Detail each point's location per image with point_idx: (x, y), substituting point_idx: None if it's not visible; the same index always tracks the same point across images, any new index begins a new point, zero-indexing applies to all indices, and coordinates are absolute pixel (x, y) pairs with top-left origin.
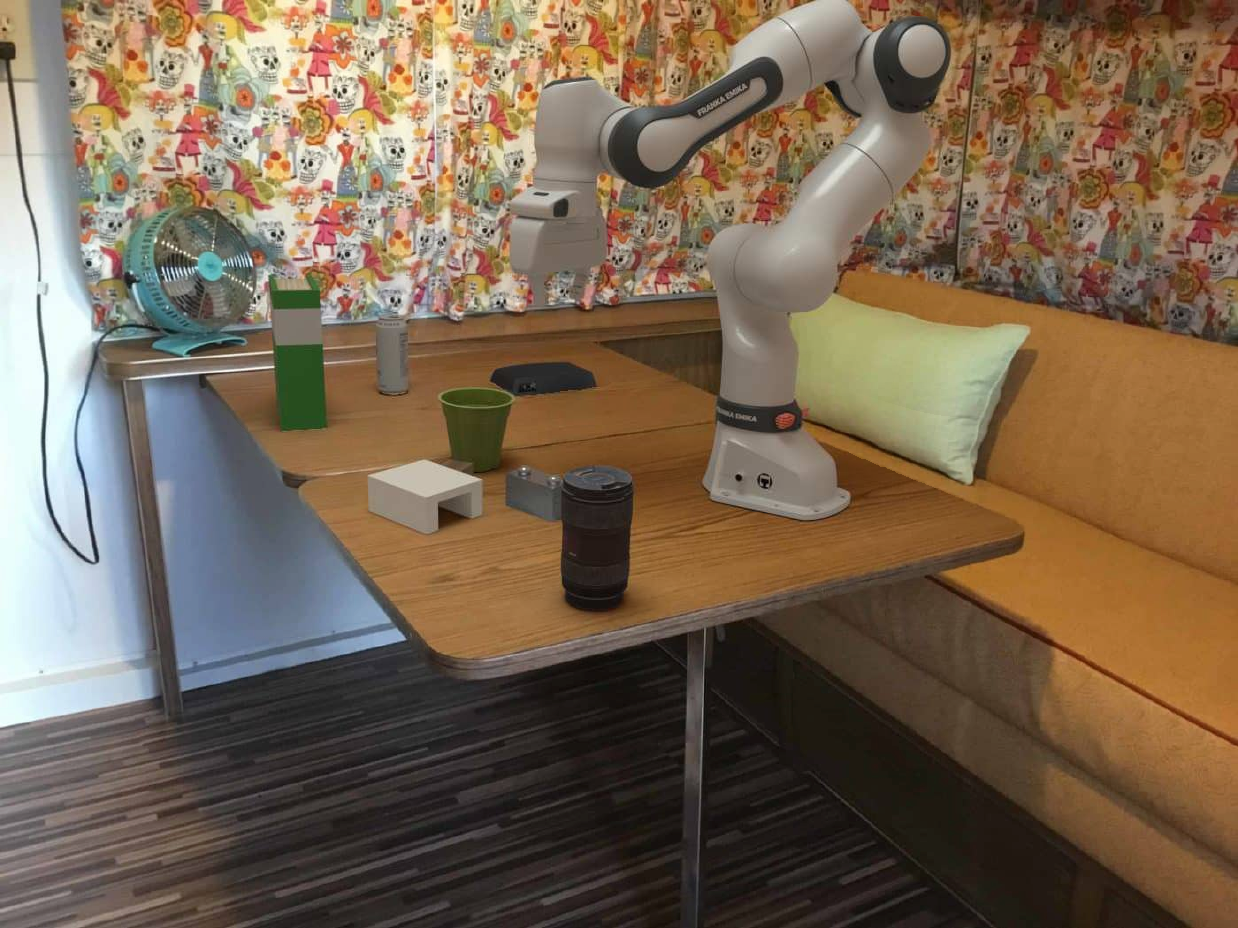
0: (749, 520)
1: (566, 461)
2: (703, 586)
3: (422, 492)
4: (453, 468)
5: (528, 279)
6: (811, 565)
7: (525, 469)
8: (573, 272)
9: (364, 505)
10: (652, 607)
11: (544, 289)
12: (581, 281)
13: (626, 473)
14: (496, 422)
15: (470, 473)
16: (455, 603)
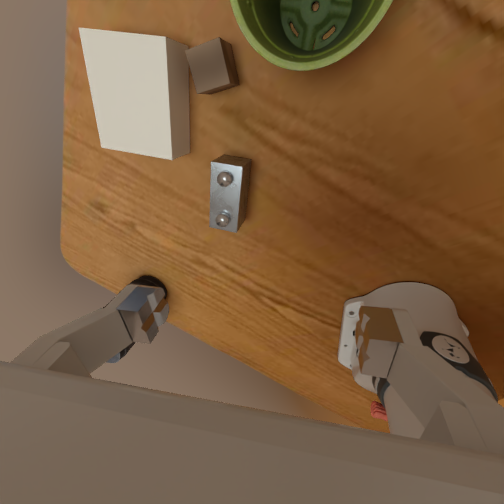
0: (318, 329)
1: (403, 117)
2: (204, 327)
3: (105, 133)
4: (198, 76)
5: (35, 342)
6: (268, 364)
7: (219, 184)
8: (438, 407)
9: (116, 14)
10: None
11: (109, 355)
12: (411, 393)
13: (118, 358)
14: (294, 56)
15: (225, 86)
16: (89, 232)
